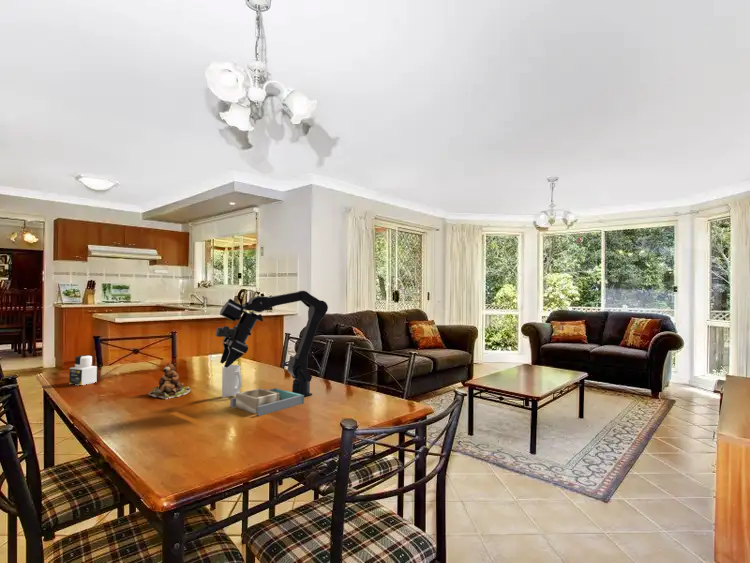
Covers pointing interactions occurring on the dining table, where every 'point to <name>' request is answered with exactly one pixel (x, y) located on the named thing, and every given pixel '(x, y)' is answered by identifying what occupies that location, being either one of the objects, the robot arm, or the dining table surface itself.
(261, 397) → the crate
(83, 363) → the medicine bottle
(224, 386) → the mug
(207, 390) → the dining table surface
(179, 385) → the bear figurine
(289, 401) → the bay
